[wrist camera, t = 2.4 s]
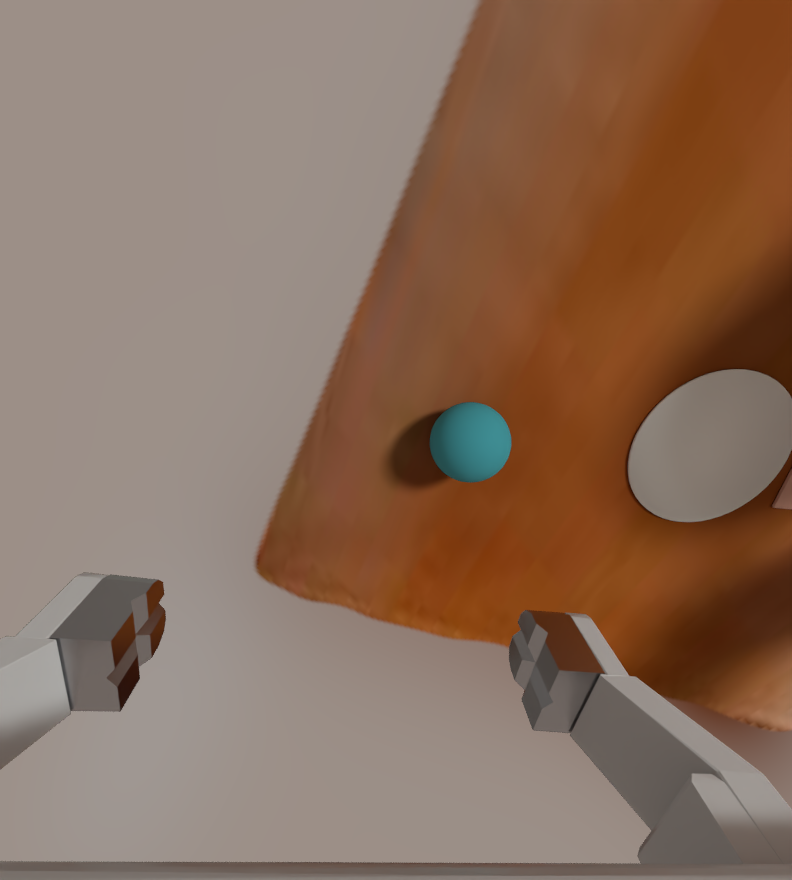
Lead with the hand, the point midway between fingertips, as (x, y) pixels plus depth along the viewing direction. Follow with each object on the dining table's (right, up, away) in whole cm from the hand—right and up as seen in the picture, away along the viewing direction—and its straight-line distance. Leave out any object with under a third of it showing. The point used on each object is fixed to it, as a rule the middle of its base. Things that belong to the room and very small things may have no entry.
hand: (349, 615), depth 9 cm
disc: (+26, +3, +22) cm, 34 cm away
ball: (+6, +4, +18) cm, 19 cm away
